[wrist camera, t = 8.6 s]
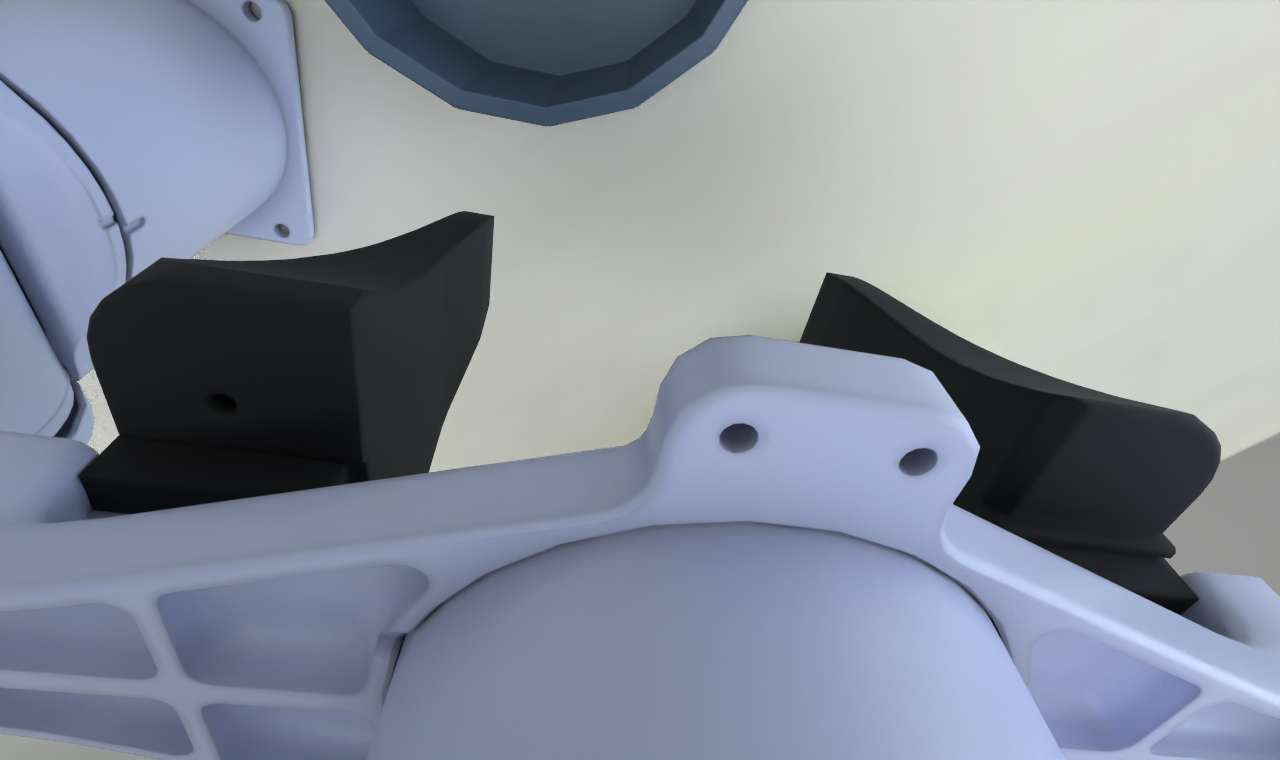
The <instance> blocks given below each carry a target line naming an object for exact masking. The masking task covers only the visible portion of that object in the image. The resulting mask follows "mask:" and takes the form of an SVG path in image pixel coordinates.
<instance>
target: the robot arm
mask: <svg viewBox="0 0 1280 760" xmlns="http://www.w3.org/2000/svg"><path fill="white" fill-rule="evenodd" d="M250 2H254V3H256V5H257V6H258V7H259V8H260V11H261V19H260V20H258V19H256V18H254V16H253V15H252V14H251V13H250V10H249V3H250ZM279 224H283V225H285V226H286V227H287V228H288V230H289V233H285V232H283V231H282V230H281V229H280V227H279ZM493 228H494V216H490V215H484V214H478V213H473V212H467V211H462V212H458V213H455V214H452V215H450V216H447V217H445V218H443V219H440V220H438V221H436V222H433V223H431V224H429V225H426V226H424V227H422V228H419V229H417V230H414V231H412V232H409V233H406V234H403V235H401V236H398V237H395V238H392V239H389V240H387V241H384V242H381V243H378V244H374V245H371V246H367V247H363V248H359V249H354V250H350V251H345V252H340V253H335V254H328V255H320V256H312V257H305V258H297V259H286V260H268V261H217V260H197V259H191V258H192V257H193V256H195V255H196V254H197V253H199V252H200V251H201V250H203V249H204V248H205V247H207V246H208V245H209V244H211V243H212V242H213V241H215V240H216V239H217V238H219V237H220V236H221V235H223V234H224V233H227V234H233V235H239V236H245V237H251V238H257V239H263V240H269V241H275V242H281V243H287V244H293V245H305V244H308V243H309V242H310V241H311V240H312V238H313V237H314V223H313V213H312V203H311V194H310V184H309V175H308V165H307V155H306V146H305V136H304V126H303V117H302V107H301V97H300V88H299V78H298V69H297V59H296V49H295V40H294V30H293V20H292V15H291V11H290V9H289V8H288V6H287V4H286V3H285V2H284V1H283V0H0V734H7V735H15V736H22V737H30V738H38V739H45V740H53V741H60V742H66V743H73V744H78V745H84V746H90V747H95V748H101V749H107V750H112V751H117V752H123V753H129V754H134V755H139V756H144V757H149V758H154V759H159V760H1280V597H1279V596H1278V595H1277V594H1276V593H1275V592H1274V591H1273V590H1272V589H1271V588H1270V587H1269V586H1268V585H1267V584H1266V583H1265V582H1264V581H1263V580H1262V579H1261V578H1259V577H1251V576H1243V575H1235V574H1226V573H1217V572H1209V571H1194V572H1190V573H1187V574H1185V575H1181V576H1179V575H1178V574H1177V573H1176V572H1175V570H1174V569H1173V568H1172V567H1171V566H1170V565H1169V564H1168V562H1167V561H1166V560H1165V559H1164V558H1171V557H1172V556H1173V555H1174V554H1175V553H1176V550H1175V547H1174V545H1173V544H1172V543H1171V542H1170V541H1169V540H1168V539H1167V538H1166V537H1165V535H1164V534H1163V532H1164V531H1165V530H1166V529H1167V528H1168V527H1169V526H1170V525H1171V524H1172V523H1173V522H1174V521H1175V520H1176V519H1177V518H1178V517H1179V516H1180V515H1181V514H1182V513H1183V512H1184V511H1185V510H1186V509H1187V507H1189V505H1191V503H1192V502H1194V500H1195V499H1196V498H1197V497H1198V496H1199V495H1200V494H1201V493H1202V492H1203V491H1204V489H1205V488H1206V487H1207V486H1208V484H1209V483H1210V482H1211V481H1212V479H1213V477H1214V474H1215V472H1216V470H1217V468H1218V465H1219V463H1220V456H1221V445H1220V443H1219V441H1218V439H1217V436H1216V434H1215V433H1214V432H1213V431H1212V430H1211V429H1210V428H1208V427H1207V426H1206V425H1205V424H1204V423H1203V422H1202V421H1200V420H1199V419H1198V418H1197V417H1196V416H1195V415H1192V414H1189V413H1185V412H1181V411H1177V410H1172V409H1168V408H1164V407H1159V406H1155V405H1151V404H1146V403H1142V402H1138V401H1133V400H1129V399H1125V398H1120V397H1117V396H1113V395H1109V394H1106V393H1102V392H1099V391H1096V390H1092V389H1089V388H1085V387H1082V386H1078V385H1075V384H1072V383H1069V382H1066V381H1063V380H1060V379H1057V378H1054V377H1051V376H1049V375H1046V374H1043V373H1041V372H1038V371H1035V370H1033V369H1030V368H1027V367H1024V366H1022V365H1019V364H1017V363H1015V362H1012V361H1010V360H1007V359H1005V358H1003V357H1001V356H998V355H996V354H994V353H992V352H990V351H988V350H985V349H983V348H981V347H979V346H977V345H975V344H973V343H971V342H969V341H967V340H965V339H963V338H961V337H959V336H958V335H956V334H954V333H952V332H950V331H949V330H947V329H945V328H943V327H941V326H940V325H938V324H936V323H934V322H933V321H931V320H929V319H928V318H926V317H924V316H923V315H921V314H919V313H918V312H916V311H914V310H913V309H911V308H910V307H908V306H906V305H905V304H903V303H901V302H900V301H898V300H897V299H895V298H893V297H892V296H890V295H888V294H887V293H885V292H883V291H882V290H880V289H878V288H876V287H875V286H873V285H871V284H869V283H867V282H865V281H863V280H861V279H858V278H855V277H851V276H845V275H839V274H833V273H826V276H825V278H824V281H823V284H822V286H821V289H820V291H819V294H818V296H817V299H816V301H815V304H814V307H813V309H812V312H811V314H810V317H809V319H808V322H807V324H806V327H805V329H804V332H803V335H802V337H801V340H800V342H799V343H798V342H791V341H785V340H778V339H772V338H765V337H759V336H752V335H744V336H730V337H717V338H710V339H708V340H706V341H704V342H703V343H701V344H699V345H697V346H696V347H694V348H692V349H690V350H689V351H687V352H685V353H683V354H682V355H680V356H678V357H677V358H676V360H675V362H674V363H673V365H672V367H671V368H670V370H669V372H668V373H667V375H666V376H665V378H664V380H663V381H662V383H661V385H660V388H659V392H658V396H657V400H656V404H655V408H654V412H653V416H652V418H651V421H650V423H649V425H648V428H647V430H646V431H645V432H644V433H643V435H642V436H641V437H640V438H639V439H637V440H635V441H633V442H631V443H629V444H627V445H624V446H617V447H610V448H603V449H595V450H588V451H581V452H574V453H567V454H560V455H552V456H545V457H538V458H531V459H524V460H517V461H509V462H502V463H495V464H488V465H481V466H473V467H466V468H459V469H452V470H445V471H438V472H430V473H429V470H430V466H431V462H432V459H433V456H434V452H435V449H436V446H437V442H438V439H439V435H440V432H441V429H442V426H443V423H444V420H445V418H446V415H447V412H448V410H449V408H450V405H451V403H452V401H453V399H454V396H455V394H456V392H457V390H458V388H459V385H460V383H461V381H462V379H463V376H464V374H465V372H466V370H467V367H468V365H469V363H470V361H471V358H472V356H473V354H474V352H475V349H476V347H477V345H478V342H479V340H480V337H481V333H482V330H483V326H484V322H485V319H486V315H487V311H488V307H489V300H490V282H491V264H492V246H493ZM92 369H95V371H96V374H97V377H98V379H99V382H100V385H101V387H102V390H103V393H104V395H105V398H106V401H107V403H108V406H109V409H110V411H111V414H112V417H113V419H114V422H115V424H116V427H117V430H118V432H119V434H120V435H119V436H118V437H117V438H116V439H115V440H114V441H113V442H112V443H111V444H110V445H109V446H108V447H107V448H106V449H105V450H104V451H103V452H102V453H101V454H100V455H99V454H98V452H97V451H96V450H94V449H93V448H91V447H90V446H88V445H87V444H88V442H89V440H90V438H91V436H92V431H93V426H94V415H93V410H92V406H91V404H90V402H89V401H88V399H87V397H86V395H85V394H84V392H83V390H82V388H81V387H80V385H79V383H77V382H76V381H79V380H80V379H81V378H83V377H84V376H85V375H86V374H87V373H89V372H90V371H91V370H92ZM72 379H73V380H72Z"/></svg>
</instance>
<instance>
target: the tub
mask: <svg viewBox="0 0 1280 760" xmlns="http://www.w3.org/2000/svg"><path fill="white" fill-rule="evenodd" d="M325 1H326V3H327V4H328V5H329V6H330V7H331V9H332V10H333V11H334V12H335V13H336V15H337V16H338V17H339V18H340V20H341V21H342V22H343V23H344V24H345V26H346V27H347V28H348V29H349V30H350V32H351V33H352V34H353V35H354V36H355V38H356V39H357V40H358V41H359V42H360V44H361V45H362V46H363V47H364V49H365V50H367V51H368V53H370V54H371V55H373V56H374V57H376V58H377V59H379V60H381V61H382V62H384V63H385V64H387V65H389V66H390V67H392V68H393V69H395V70H396V71H398V72H400V73H401V74H403V75H404V76H406V77H407V78H409V79H411V80H412V81H414V82H415V83H417V84H419V85H420V86H422V87H423V88H425V89H426V90H428V91H430V92H431V93H433V94H434V95H436V96H437V97H439V98H441V99H442V100H444V101H445V102H447V103H449V104H450V105H452V106H453V107H455V108H458V109H461V110H466V111H471V112H476V113H481V114H486V115H491V116H496V117H501V118H506V119H511V120H516V121H521V122H526V123H531V124H536V125H541V126H554V125H559V124H563V123H568V122H573V121H577V120H582V119H586V118H591V117H596V116H600V115H605V114H610V113H614V112H619V111H623V110H628V109H633V108H635V107H638V106H639V105H640V104H642V103H643V102H645V101H646V100H647V99H649V98H650V97H652V96H653V95H654V94H656V93H657V92H659V91H660V90H661V89H663V88H664V87H666V86H667V85H668V84H670V83H671V82H673V81H674V80H675V79H677V78H678V77H679V76H681V75H682V74H684V73H685V72H686V71H688V70H689V69H691V68H692V67H693V66H695V65H696V64H698V63H699V62H700V61H702V60H703V59H705V58H706V57H707V56H709V55H710V54H711V53H713V51H714V50H715V49H716V48H717V47H718V45H719V44H720V42H721V41H722V39H723V38H724V36H725V35H726V33H727V32H728V30H729V29H730V27H731V26H732V24H733V23H734V21H735V19H736V18H737V16H738V15H739V13H740V12H741V10H742V9H743V7H744V6H745V4H746V3H747V1H748V0H325Z"/></svg>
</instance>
